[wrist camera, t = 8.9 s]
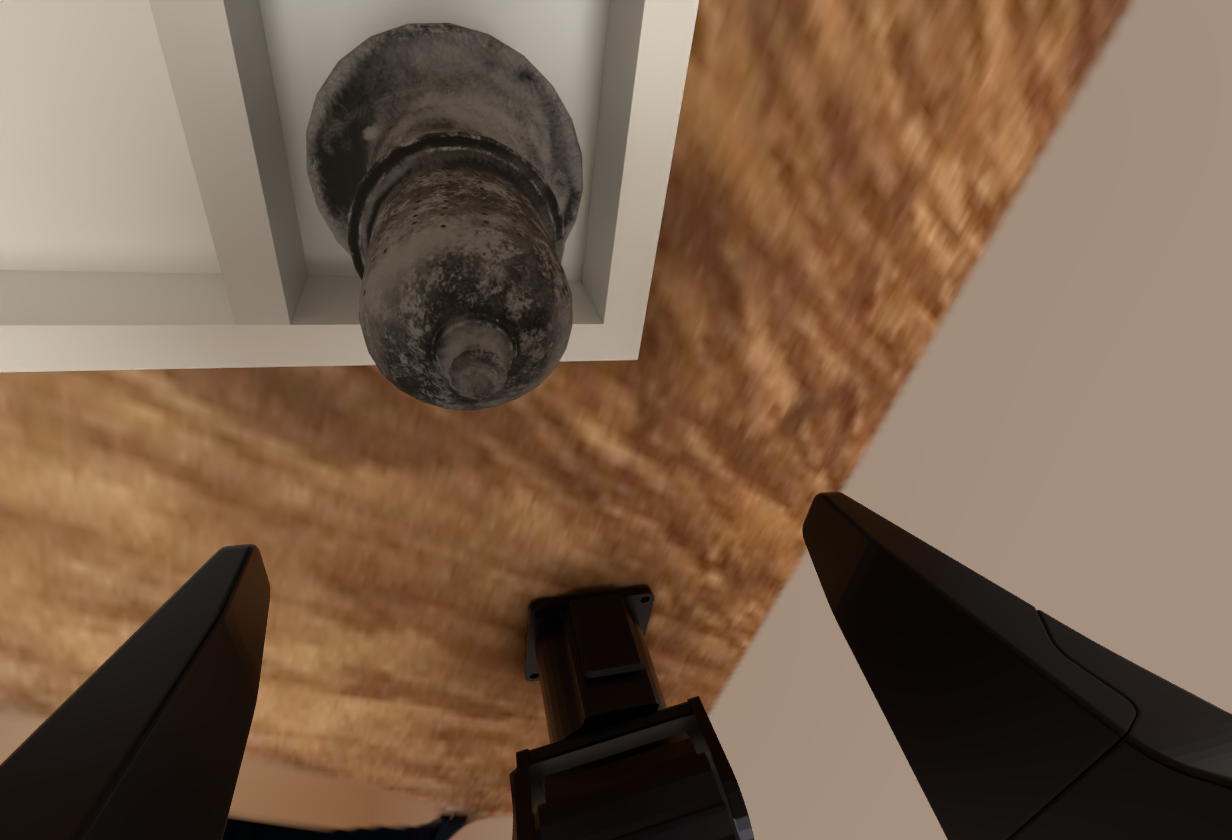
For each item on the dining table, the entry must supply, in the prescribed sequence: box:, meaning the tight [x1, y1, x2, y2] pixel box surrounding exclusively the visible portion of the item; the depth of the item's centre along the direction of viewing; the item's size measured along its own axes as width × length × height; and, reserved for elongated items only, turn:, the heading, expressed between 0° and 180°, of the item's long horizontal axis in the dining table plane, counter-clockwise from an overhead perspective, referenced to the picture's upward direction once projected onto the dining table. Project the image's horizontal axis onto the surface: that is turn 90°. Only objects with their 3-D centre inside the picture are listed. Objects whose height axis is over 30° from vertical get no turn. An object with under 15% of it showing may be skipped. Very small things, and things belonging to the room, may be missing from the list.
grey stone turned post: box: [306, 23, 583, 410], centre depth 11 cm, size 6×6×12 cm
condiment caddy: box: [0, 0, 699, 372], centre depth 14 cm, size 10×20×4 cm, turn 83°
